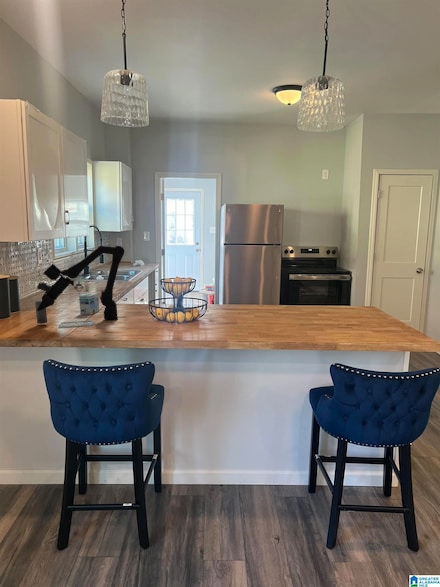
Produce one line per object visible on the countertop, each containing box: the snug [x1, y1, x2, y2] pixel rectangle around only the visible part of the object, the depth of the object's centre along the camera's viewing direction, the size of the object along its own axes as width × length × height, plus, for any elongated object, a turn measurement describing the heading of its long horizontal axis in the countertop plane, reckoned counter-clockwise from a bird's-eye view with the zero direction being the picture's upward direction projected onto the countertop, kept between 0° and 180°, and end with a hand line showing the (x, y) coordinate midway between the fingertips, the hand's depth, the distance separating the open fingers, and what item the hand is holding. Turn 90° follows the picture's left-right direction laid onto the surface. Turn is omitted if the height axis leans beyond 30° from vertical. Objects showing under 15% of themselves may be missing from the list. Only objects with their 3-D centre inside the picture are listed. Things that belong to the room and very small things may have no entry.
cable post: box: [34, 299, 48, 325], centre depth 210 cm, size 5×5×11 cm
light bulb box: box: [78, 292, 100, 315], centre depth 238 cm, size 11×7×11 cm, turn 168°
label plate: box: [58, 319, 95, 329], centre depth 210 cm, size 16×10×1 cm, turn 104°
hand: (38, 309), depth 209 cm, fingers open, 5 cm apart
